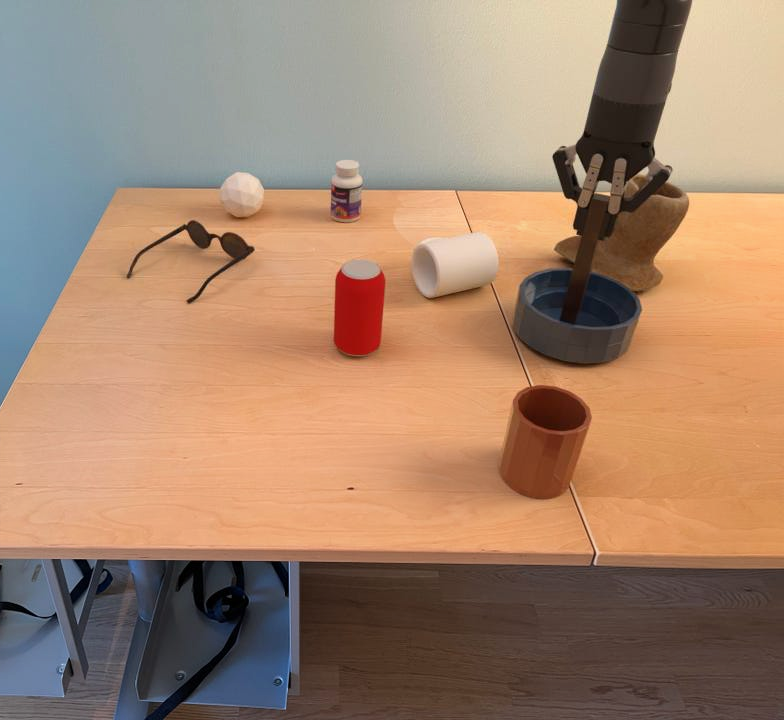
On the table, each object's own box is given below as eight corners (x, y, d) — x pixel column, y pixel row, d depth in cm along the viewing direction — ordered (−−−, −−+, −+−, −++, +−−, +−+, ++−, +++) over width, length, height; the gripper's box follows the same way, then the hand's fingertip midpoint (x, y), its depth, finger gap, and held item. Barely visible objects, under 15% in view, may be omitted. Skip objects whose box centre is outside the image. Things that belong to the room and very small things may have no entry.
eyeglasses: (255, 264, 111) (254, 236, 108) (193, 306, 101) (189, 276, 98) (186, 240, 117) (183, 213, 114) (121, 277, 107) (116, 248, 104)
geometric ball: (244, 223, 129) (254, 181, 128) (265, 223, 122) (277, 179, 122) (207, 210, 124) (218, 166, 124) (228, 210, 118) (239, 164, 117)
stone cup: (680, 284, 105) (715, 190, 96) (624, 303, 101) (655, 207, 92) (602, 243, 116) (627, 155, 107) (549, 259, 112) (570, 168, 103)
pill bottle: (324, 215, 125) (325, 163, 119) (346, 207, 128) (348, 155, 122) (344, 226, 121) (346, 172, 116) (366, 217, 124) (369, 164, 118)
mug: (494, 294, 103) (503, 246, 98) (435, 308, 100) (442, 259, 95) (451, 258, 112) (457, 212, 107) (396, 270, 109) (400, 223, 104)
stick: (577, 321, 94) (612, 196, 83) (573, 328, 93) (608, 202, 82) (562, 317, 95) (595, 192, 84) (558, 324, 94) (590, 198, 83)
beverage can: (385, 358, 91) (392, 277, 83) (339, 363, 90) (342, 283, 82) (372, 331, 95) (378, 253, 88) (328, 337, 94) (330, 258, 87)
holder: (578, 464, 75) (599, 400, 70) (558, 509, 70) (579, 444, 65) (511, 439, 78) (526, 376, 73) (488, 480, 73) (502, 416, 68)
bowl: (639, 324, 97) (652, 287, 93) (613, 382, 86) (627, 343, 83) (531, 294, 103) (539, 258, 100) (495, 344, 93) (503, 306, 89)
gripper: (556, 89, 76) (527, 234, 87) (694, 110, 70) (644, 262, 81) (575, 74, 81) (545, 212, 92) (704, 92, 75) (656, 237, 86)
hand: (591, 235), depth 86 cm, fingers closed on stick, 2 cm apart
